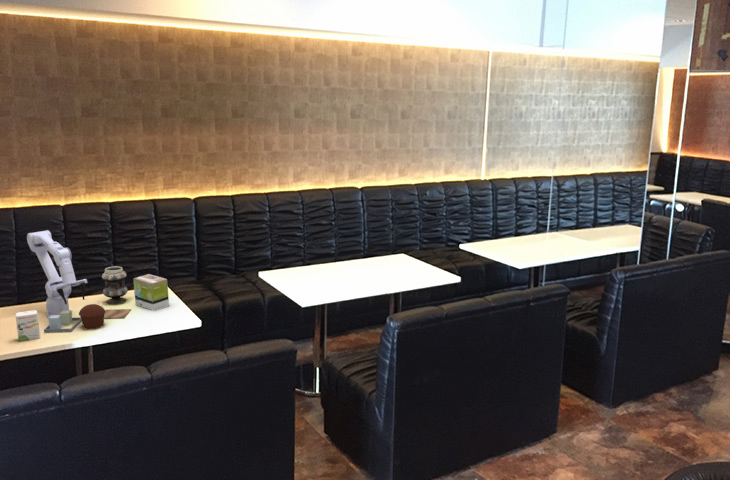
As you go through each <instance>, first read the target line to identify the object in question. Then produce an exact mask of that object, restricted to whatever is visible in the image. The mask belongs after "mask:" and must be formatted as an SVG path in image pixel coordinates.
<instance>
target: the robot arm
mask: <svg viewBox="0 0 730 480" xmlns="http://www.w3.org/2000/svg"><path fill="white" fill-rule="evenodd" d="M26 241H27V244H28V247H29V249H30V251H31V252H33V253H35V255H36V256H37V259H38V260H39V263H40V265H41V268H42V269H43V272H44V273H45V277H46V278H47V280H48V281H47V282H46V283H45V285H44V289H45V292H46V295H47V298H46V300H45V307H46V314H47V316H46V318H49V317H50V316H52V315H60V314H59V313H60V312H61V311H62V310H70V306H69V305H70V304H69V297H70V294H71V293H72V287H77V286H79V288H80V289H79V290H80V292H81V297H82V301H83V300H86V298H85V288H86V284H88V279H87V278H83V279H80V280H77V278H76V275H75V271H74V268H73V267H74V266H73V263H72V258H73V257H72V252H71V249H70V248H69V247H63V245H62V244H60V243H59V242H57V241H54V239H53V238H52V233H51V231H50V230H48V229H47V230H42V231H36V232H29V233H27V235H26ZM48 252H49V253H50V254H51V256H53V260H54V261H55V264H56V266H57V267H58V270H59V273H60V276H59V274H58V270H56V269H57V268H56V267H55V265H54V263H53V260H52V258H51V257H50V254H49V253H48Z"/></svg>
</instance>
